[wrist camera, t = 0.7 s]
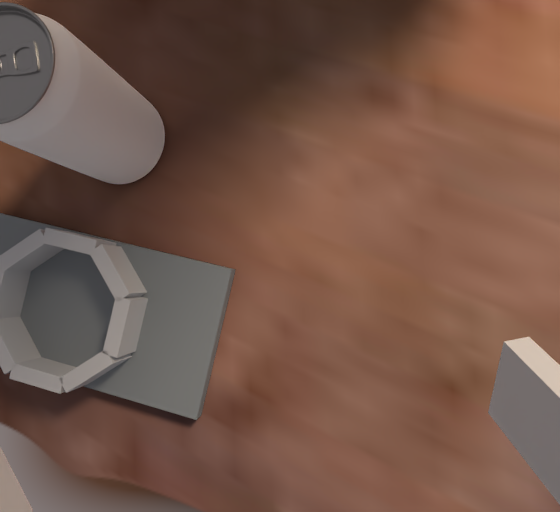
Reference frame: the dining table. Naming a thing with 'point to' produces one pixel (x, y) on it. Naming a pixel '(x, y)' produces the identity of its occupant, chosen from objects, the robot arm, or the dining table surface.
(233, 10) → the dining table surface
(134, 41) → the dining table surface
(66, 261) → the socket plate
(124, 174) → the can
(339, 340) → the dining table surface
